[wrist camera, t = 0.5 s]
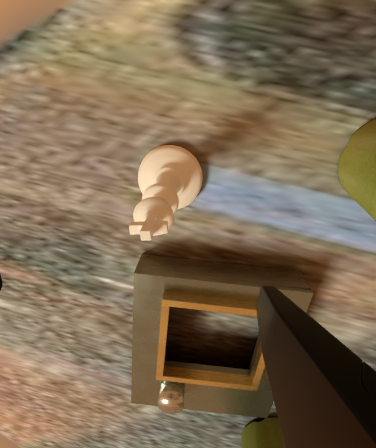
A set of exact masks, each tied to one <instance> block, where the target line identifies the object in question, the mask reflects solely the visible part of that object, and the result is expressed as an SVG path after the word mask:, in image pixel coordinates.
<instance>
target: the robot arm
mask: <svg viewBox="0 0 376 448" xmlns="http://www.w3.org/2000/svg"><path fill="white" fill-rule="evenodd" d="M1 288H2V279H1V275H0V290H1ZM257 318H258V326H259V333H260V340H261V348H262V354H263V359H264V363H265V367H266V371H267V375H268V379H269V383H270V387H271V391H272V395H273V399H274V403H275V407H276V411H277V414H278V418H279V422H280V426H281V430H282V434H283V438H284V442H285V446H286V448H376V371H375V370H374V369H372V368H371V367H370V366H369V365H368V364H366V363H365V362H362V360H361V359H360V358H359V357H358V356H357V355H356V354H354V353H353V352H352V351H351V350H350V349H348V348H347V347H346V346H345V345H344V344H342V343H341V342H340V341H339V340H338V339H337V338H335V337H334V336H333V335H332V334H331V333H329V332H328V331H327V330H326V329H325V328H323V327H322V326H321V325H320V324H319V323H318V322H316V321H315V320H314V319H313V318H312V317H310V316H309V315H308V314H307V313H306V312H304V311H303V310H302V309H301V308H300V307H298V306H297V305H296V304H295V303H294V302H293V301H291V300H290V299H289V298H288V297H287V296H285V295H284V294H283V293H282V292H281V291H279V290H278V289H277V288H276V287H274V286H267V285H263V286H261V288H260V292H259V297H258V301H257Z"/></svg>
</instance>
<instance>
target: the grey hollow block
mask: <svg viewBox="0 0 376 448" xmlns="http://www.w3.org/2000/svg"><path fill="white" fill-rule="evenodd" d="M263 285H267V286H274V287H276V288H277V289H278V290H279V291H281V292H282V293H283V294H284V295H285V296H287V297H288V298H289V299H290V300H291V301H293V302H294V303H295V304H296V305H297V306H298V307H300V308H301V309H302V310H303V311H304V312H306V313H307V310H308V307H309V304H310V302H311V299H312V296H313V294H314V293H313V291H312V290H311V288H310V286H309V285H308V283H307V282H306V280H305V278H304V277H303V275H302V273H301V272H300V271H294V270H285V269H276V268H267V267H258V266H249V265H240V264H231V263H222V262H213V261H204V260H195V259H187V258H178V257H169V256H160V255H151V254H142V255H141V257H140V260H139V262H138V265H137V267H136V270H135V272H134V301H133V348H132V395H131V403H136V404H145V405H154V406H158V407H159V408H160V409H161V410H162V411H164V412H166V413H178V412H180V411H181V410H182V409H189V410H198V411H207V412H216V413H225V414H234V415H243V416H252V417H261V418H267V417H268V415H269V412H270V409H271V407H272V404H273V401H274V399H273V395H272V391H271V387H270V383H269V379H268V375H267V371H266V367H265V363H264V359H263V354H262V348H261V340H260V333H259V335H258V339H257V342H256V346H255V349H254V353H253V356H252V360H251V363H250V367H249V370H247V369H238V368H229V367H220V366H211V365H202V364H193V363H184V362H175V361H166V360H165V355H166V345H167V334H168V324H169V313H170V307H178V308H187V309H196V310H204V311H213V312H222V313H231V314H240V315H249V316H257V301H258V297H259V292H260V288H261V286H263Z"/></svg>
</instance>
